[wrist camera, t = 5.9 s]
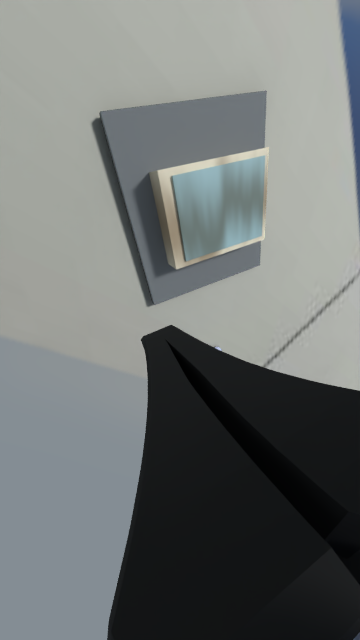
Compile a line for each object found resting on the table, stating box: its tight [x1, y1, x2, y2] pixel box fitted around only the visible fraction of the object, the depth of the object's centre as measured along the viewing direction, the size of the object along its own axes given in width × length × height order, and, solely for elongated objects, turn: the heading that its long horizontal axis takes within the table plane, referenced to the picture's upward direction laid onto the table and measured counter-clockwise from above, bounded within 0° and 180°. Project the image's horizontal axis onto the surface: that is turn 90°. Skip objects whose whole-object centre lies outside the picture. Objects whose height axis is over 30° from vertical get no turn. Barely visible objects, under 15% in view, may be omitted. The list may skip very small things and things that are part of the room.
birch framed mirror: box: [149, 147, 269, 270], centre depth 16 cm, size 6×2×8 cm
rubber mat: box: [99, 91, 267, 305], centre depth 16 cm, size 12×11×1 cm
